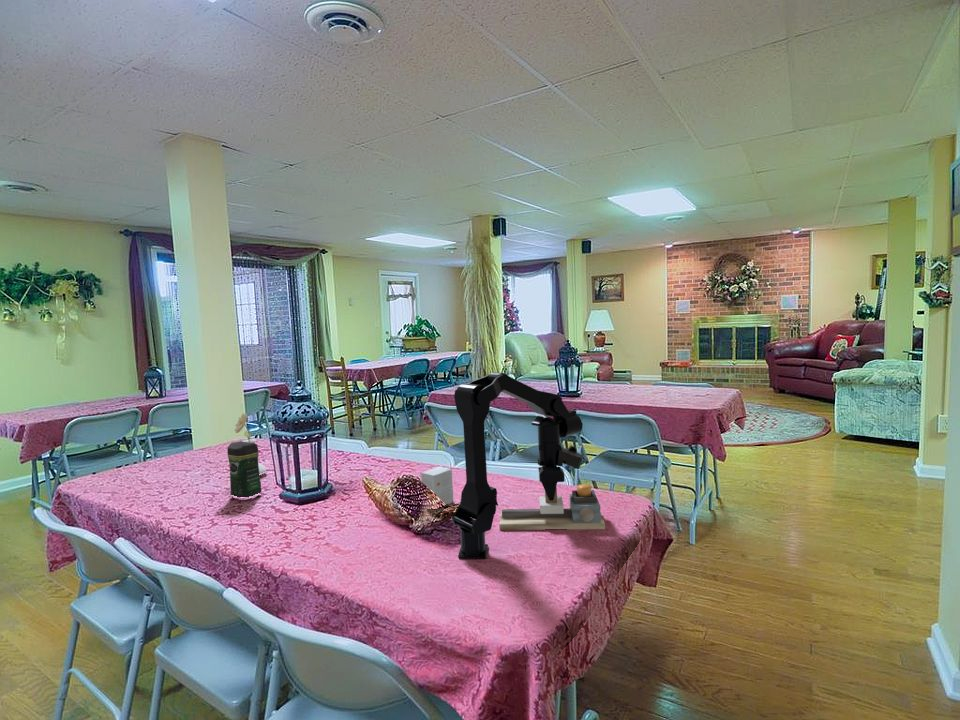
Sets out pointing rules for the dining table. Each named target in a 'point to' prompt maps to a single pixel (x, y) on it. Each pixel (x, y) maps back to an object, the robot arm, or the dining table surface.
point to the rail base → (556, 516)
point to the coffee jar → (244, 469)
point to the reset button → (583, 490)
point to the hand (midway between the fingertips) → (551, 498)
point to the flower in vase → (239, 427)
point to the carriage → (551, 504)
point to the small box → (439, 482)
